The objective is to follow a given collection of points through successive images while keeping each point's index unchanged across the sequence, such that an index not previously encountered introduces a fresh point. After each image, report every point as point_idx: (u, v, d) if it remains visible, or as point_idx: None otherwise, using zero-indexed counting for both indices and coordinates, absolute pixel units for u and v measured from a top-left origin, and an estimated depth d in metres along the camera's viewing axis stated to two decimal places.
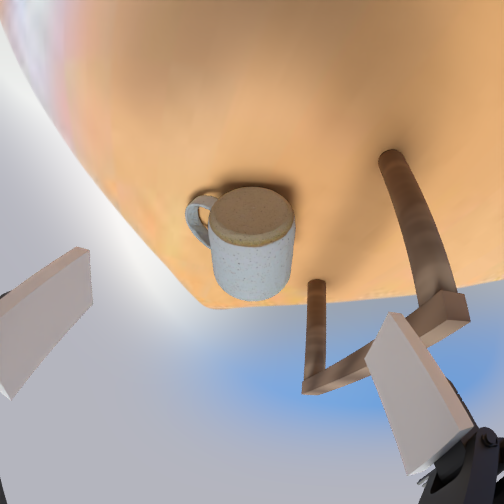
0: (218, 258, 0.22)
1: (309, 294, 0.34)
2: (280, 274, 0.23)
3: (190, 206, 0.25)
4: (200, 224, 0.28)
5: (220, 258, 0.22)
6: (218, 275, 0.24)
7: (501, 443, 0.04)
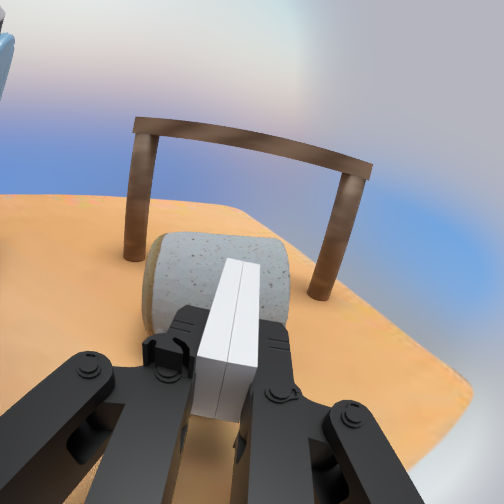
0: (201, 267, 0.14)
1: (322, 283, 0.26)
2: None
3: None
4: None
5: (198, 263, 0.14)
6: None
7: (322, 425, 0.05)
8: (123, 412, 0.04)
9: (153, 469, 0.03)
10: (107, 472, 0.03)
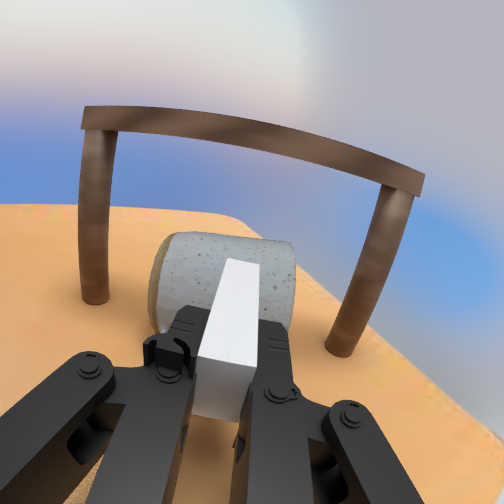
0: (207, 266, 0.14)
1: (347, 337, 0.18)
2: None
3: None
4: None
5: (203, 261, 0.14)
6: (259, 282, 0.14)
7: (322, 425, 0.05)
8: (124, 412, 0.04)
9: (154, 469, 0.03)
10: (108, 472, 0.03)
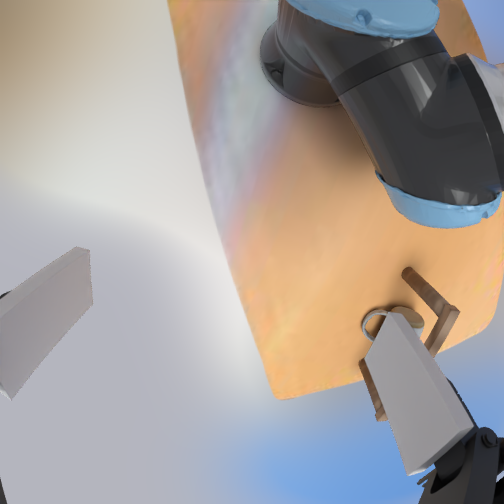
0: None
1: (362, 367, 0.46)
2: None
3: (373, 314, 0.42)
4: (364, 328, 0.44)
5: None
6: None
7: (501, 443, 0.04)
8: None
9: None
10: None
